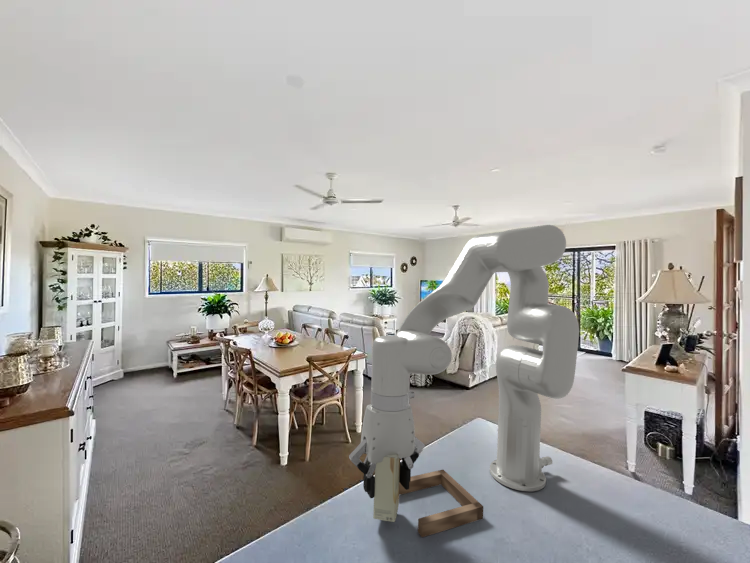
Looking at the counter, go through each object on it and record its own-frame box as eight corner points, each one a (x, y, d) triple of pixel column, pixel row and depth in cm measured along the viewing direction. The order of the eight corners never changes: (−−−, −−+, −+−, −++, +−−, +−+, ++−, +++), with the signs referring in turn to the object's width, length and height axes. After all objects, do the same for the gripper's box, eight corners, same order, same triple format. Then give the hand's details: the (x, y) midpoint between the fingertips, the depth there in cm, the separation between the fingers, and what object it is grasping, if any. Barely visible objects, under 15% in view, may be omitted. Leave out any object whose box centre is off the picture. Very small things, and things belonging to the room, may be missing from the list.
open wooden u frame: (442, 479, 81) (443, 469, 81) (483, 518, 68) (483, 506, 68) (389, 492, 76) (389, 481, 76) (422, 537, 63) (422, 524, 63)
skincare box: (395, 523, 64) (397, 458, 64) (372, 519, 65) (374, 455, 65) (399, 501, 71) (401, 442, 70) (378, 498, 72) (380, 440, 71)
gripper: (418, 389, 74) (416, 471, 75) (341, 398, 68) (339, 488, 68) (438, 401, 68) (435, 491, 68) (354, 412, 61) (351, 512, 61)
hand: (387, 489), depth 68 cm, fingers closed on skincare box, 6 cm apart
